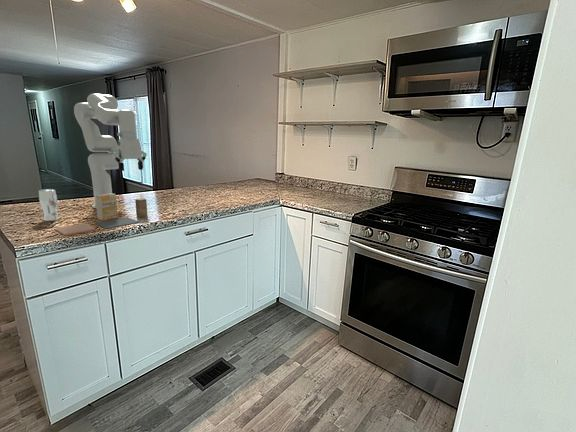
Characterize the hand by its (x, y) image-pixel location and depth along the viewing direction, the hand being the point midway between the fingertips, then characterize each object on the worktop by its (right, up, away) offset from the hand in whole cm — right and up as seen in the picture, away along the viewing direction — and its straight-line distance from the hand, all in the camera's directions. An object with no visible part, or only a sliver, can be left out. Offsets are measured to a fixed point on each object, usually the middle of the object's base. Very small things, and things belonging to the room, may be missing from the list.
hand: (131, 170), depth 159 cm
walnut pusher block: (+2, -24, +8) cm, 26 cm away
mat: (-5, -27, -4) cm, 28 cm away
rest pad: (-17, -30, -17) cm, 39 cm away
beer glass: (-39, -26, -3) cm, 47 cm away
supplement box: (-13, -25, +2) cm, 29 cm away
